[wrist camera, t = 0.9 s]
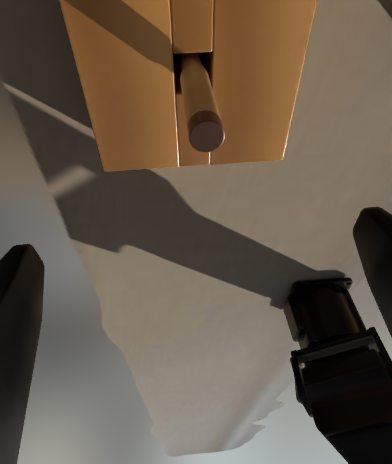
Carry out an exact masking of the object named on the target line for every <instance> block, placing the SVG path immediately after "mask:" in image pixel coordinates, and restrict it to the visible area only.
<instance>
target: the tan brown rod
mask: <svg viewBox="0 0 392 464" xmlns="http://www.w3.org/2000/svg"><path fill="white" fill-rule="evenodd" d="M179 56H180V62H181V68H182V73H181V76H180V83H181V89H182V96H183V103H184V110H185V116H186V123H187V130H188V137H189V142H190V144H191V146H192V147H193V148H194V149H195V150H197V151H199V152H212V151H214V150H216V149H218V148H219V147H220V146H221V144H222V143H223V141H224V138H225V132H224V128H223V125H222V121H221V118H220V114H219V111H218V107H217V104H216V100H215V97H214V94H213V90H212V87H211V83H210V80H209V76H208V73H207V71H206V69H205V68H204V67H202V63H201V59H200V56H199V52H198V53H179Z"/></svg>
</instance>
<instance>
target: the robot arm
mask: <svg viewBox="0 0 392 464" xmlns="http://www.w3.org/2000/svg"><path fill="white" fill-rule="evenodd" d="M353 236H354V240H355V243H356V246H357V250H358V253H359V256H360V259H361V263H362V266H363V269H364V272H365V276H366V279H367V281H368V284H369V286H370V289H371V291H372V294H373V296H374V298H375V300H376V303H377V305H378V307H379V310H380V312H381V314H382V316H383V319H384V321H385V323H386V325H387V328H388V330H389V332H390V335H391V337H392V215H391V214H390V213H388V212H387V211H385V210H384V209H382V208H380V207H369V208H364V209H363V210H362V211H361V212H360V215H359V217H358V219H357V221H356V223H355V225H354V228H353ZM352 283H353V282H352V280H351V278H341V279H329V280H318V281H306V282H297V283H295V284H293V286H292V289H291V292H290V295H289V297H288V298H287V301H286V304H285V306H284V314H285V315H286V319H287V322H288V325H289V328H290V332H291V335H292V338H293V340H294V341H295V342H297V341H298V342H299V345H300V348H301V350H297V351H296V350H294V351H291V356H292V357H291V358H290V361H291V364H292V368H293V372H294V377H295V389H296V397H297V400H298V402H299V403H301V404H303V406H304V407H305V409H306V411H307V413H308V415H309V416H310V417H313V418H314V421H315V425H316V427H317V429H318V430H319V431H320V432H321V433H322V434H323V435H324V437H326V439H327V440H328V441H329V442H330V443H331V444H332V445H333V447H334V448H335V449H336V450H337V451H338V452H339V453H340V454H341V455H342V456H343V458H344V459H345V460H346V461H347V462H348V464H392V361H391V359H390V357H389V355H388V353H387V351H386V349H385V347H384V345H383V343H382V341H381V340H380V337H379V336H378V333H377V332H376V329H375V327H371V328H369V329H368V330H366V328H365V325H364V323H363V321H362V319H361V317H360V315H359V313H358V311H357V309H356V307H355V304H354V302H353V300H352V298H351V296H350V294H349V292H348V290H349V288H350V287H351V285H352ZM43 289H44V264H43V261H42V260H41V258H40V257H39V255H38V253H37V252H36V251H35V249H34V247H33V246H32V245H30V244H23V245H16V246H13V247H12V248H11V249H10V250H9V251H8V253H6V254H5V256H4V257H3V258H2V259H1V260H0V464H17V460H18V454H19V448H20V443H21V436H22V431H23V425H24V420H25V414H26V408H27V403H28V397H29V391H30V386H31V380H32V374H33V368H34V363H35V357H36V351H37V346H38V340H39V334H40V329H41V321H42V309H43ZM377 350H378V351H377Z"/></svg>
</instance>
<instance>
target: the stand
mask: <svg viewBox="0 0 392 464" xmlns="http://www.w3.org/2000/svg"><path fill="white" fill-rule="evenodd" d="M59 3H60V6H61V10H62V14H63V18H64V22H65V25H66V29H67V33H68V37H69V41H70V44H71V48H72V52H73V56H74V60H75V63H76V67H77V71H78V75H79V79H80V82H81V86H82V90H83V94H84V98H85V102H86V105H87V109H88V113H89V117H90V121H91V124H92V128H93V132H94V136H95V140H96V143H97V147H98V151H99V155H100V159H101V162H102V166H103V170H104V171H105V172H106V171H121V170H136V169H151V168H166V167H179V166H196V165H209V164H211V165H213V164H228V163H243V162H258V161H273V160H283V156H284V152H285V147H286V142H287V138H288V133H289V128H290V124H291V119H292V114H293V110H294V105H295V100H296V96H297V91H298V86H299V82H300V77H301V73H302V68H303V63H304V59H305V54H306V49H307V45H308V40H309V35H310V31H311V26H312V21H313V17H314V12H315V7H316V3H317V0H59ZM198 52H204V65H203V64H202V67H204V68H205V69H206V71H207V73H208V76H209V80H210V83H211V87H212V90H213V94H214V97H215V100H216V104H217V107H218V111H219V114H220V118H221V121H222V125H223V128H224V132H225V138H224V141H223V143H222V144H221V146H220V147H219V148H218V149H216V150H214V151H212V152H199V151H197V150H195V149H194V148H193V147H192V146H191V144H190V142H189V137H188V130H187V123H186V116H185V110H184V103H183V96H182V89H181V83H180V76H181V73H182V68H181V65H180V66H173V53H174V54H177V53H198Z"/></svg>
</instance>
